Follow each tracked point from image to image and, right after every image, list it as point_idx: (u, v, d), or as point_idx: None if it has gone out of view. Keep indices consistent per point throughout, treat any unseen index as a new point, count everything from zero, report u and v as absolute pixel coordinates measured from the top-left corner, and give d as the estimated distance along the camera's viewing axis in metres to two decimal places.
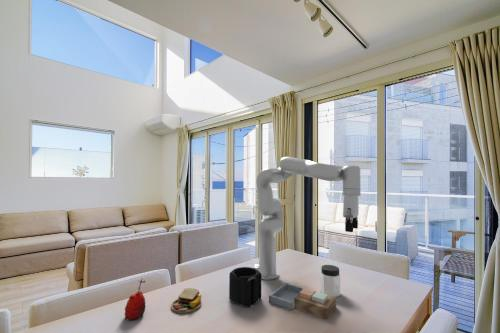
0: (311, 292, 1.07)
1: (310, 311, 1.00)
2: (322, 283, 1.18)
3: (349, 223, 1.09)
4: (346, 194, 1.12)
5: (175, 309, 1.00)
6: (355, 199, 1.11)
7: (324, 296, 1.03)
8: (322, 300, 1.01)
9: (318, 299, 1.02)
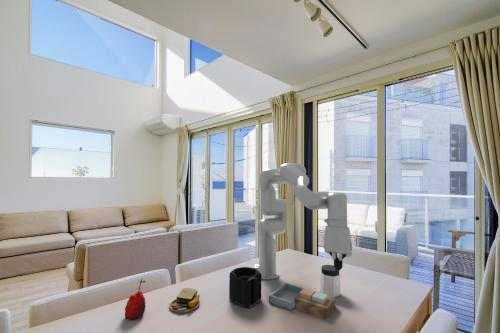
0: (311, 292, 1.07)
1: (310, 311, 1.00)
2: (322, 283, 1.18)
3: None
4: (345, 226, 0.98)
5: (174, 309, 1.00)
6: None
7: (324, 296, 1.03)
8: (322, 300, 1.01)
9: (318, 299, 1.02)
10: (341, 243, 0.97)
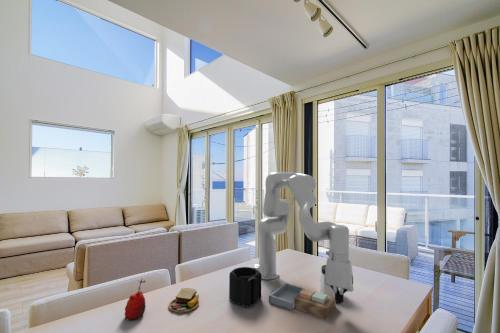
0: (311, 292, 1.07)
1: (310, 311, 1.00)
2: (322, 283, 1.18)
3: None
4: (346, 261, 0.97)
5: (173, 309, 1.00)
6: None
7: (324, 296, 1.03)
8: (322, 300, 1.01)
9: (318, 299, 1.02)
10: (342, 278, 0.96)
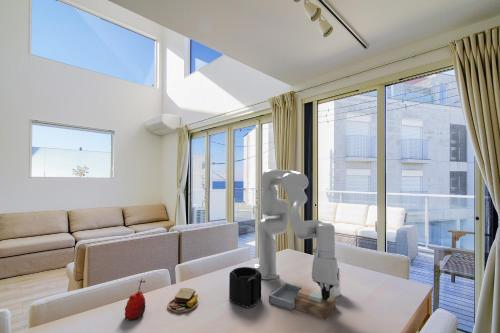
0: (309, 292, 1.07)
1: (310, 311, 1.00)
2: None
3: (329, 289, 1.02)
4: (332, 258, 1.00)
5: (172, 309, 1.00)
6: None
7: None
8: (319, 299, 1.01)
9: (315, 298, 1.02)
10: (328, 274, 0.99)
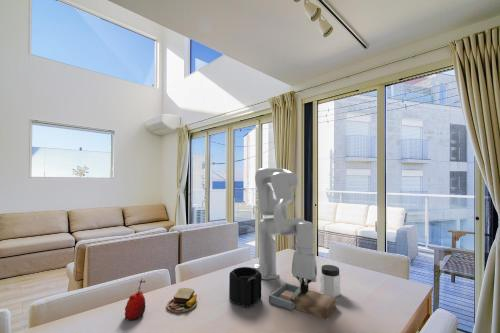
0: None
1: (310, 311, 1.00)
2: (322, 283, 1.18)
3: None
4: (310, 254, 1.05)
5: (171, 309, 1.00)
6: None
7: (298, 288, 1.10)
8: (296, 291, 1.07)
9: (294, 294, 1.08)
10: (306, 269, 1.05)
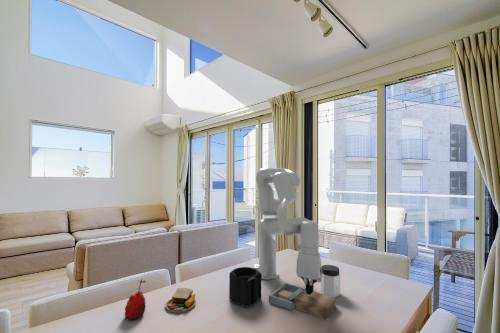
0: None
1: (310, 311, 1.00)
2: (322, 283, 1.18)
3: None
4: (315, 254, 1.04)
5: (170, 309, 1.00)
6: None
7: (297, 290, 1.10)
8: (295, 293, 1.07)
9: (292, 295, 1.08)
10: (311, 269, 1.03)
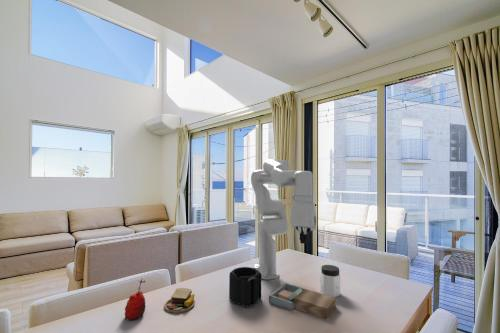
0: None
1: (310, 311, 1.00)
2: (322, 283, 1.18)
3: (307, 233, 1.06)
4: (309, 202, 1.03)
5: (169, 309, 1.00)
6: None
7: (297, 290, 1.10)
8: (295, 293, 1.07)
9: (292, 295, 1.08)
10: (306, 217, 1.03)
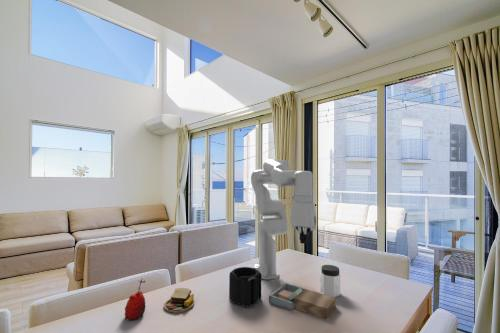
0: None
1: (310, 311, 1.00)
2: (322, 283, 1.18)
3: (307, 233, 1.06)
4: (309, 202, 1.03)
5: (169, 309, 1.00)
6: None
7: (297, 290, 1.10)
8: (295, 293, 1.07)
9: (292, 295, 1.08)
10: (305, 217, 1.03)
